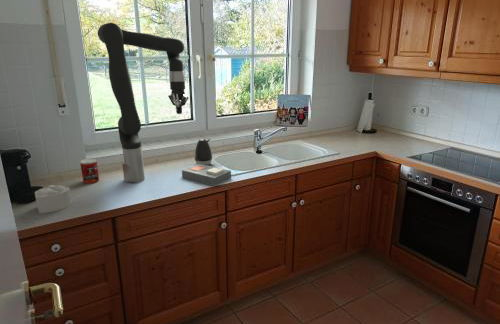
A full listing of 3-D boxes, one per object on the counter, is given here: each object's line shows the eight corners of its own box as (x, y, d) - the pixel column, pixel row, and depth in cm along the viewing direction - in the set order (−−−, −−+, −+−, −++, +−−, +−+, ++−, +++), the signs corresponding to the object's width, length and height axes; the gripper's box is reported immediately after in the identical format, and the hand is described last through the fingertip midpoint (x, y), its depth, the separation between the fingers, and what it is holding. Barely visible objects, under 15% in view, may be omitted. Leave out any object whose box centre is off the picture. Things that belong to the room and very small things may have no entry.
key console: (214, 185, 179) (214, 178, 178) (182, 177, 191) (181, 170, 190) (231, 178, 189) (230, 170, 188) (199, 170, 201) (198, 163, 200)
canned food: (83, 185, 182) (80, 163, 179) (82, 180, 189) (79, 159, 185) (100, 182, 185) (97, 161, 182) (98, 177, 192) (95, 157, 189)
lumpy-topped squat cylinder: (36, 206, 158) (33, 187, 156) (69, 199, 165) (66, 181, 163) (39, 214, 150) (35, 195, 148) (74, 206, 157) (70, 188, 155)
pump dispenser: (216, 164, 212) (215, 138, 207) (202, 168, 204) (201, 142, 200) (205, 160, 218) (203, 135, 214) (191, 164, 211) (189, 139, 206)
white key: (216, 179, 182) (215, 172, 181) (206, 177, 185) (206, 170, 184) (223, 175, 187) (223, 169, 186) (214, 173, 190) (214, 167, 189)
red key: (198, 177, 189) (197, 170, 188) (189, 175, 192) (189, 168, 191) (205, 173, 194) (205, 167, 193) (197, 171, 197) (197, 165, 196)
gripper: (162, 80, 189) (165, 113, 194) (181, 81, 182) (183, 116, 187) (173, 79, 195) (175, 111, 200) (191, 80, 188) (193, 114, 193)
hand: (179, 113), depth 194 cm, fingers closed
